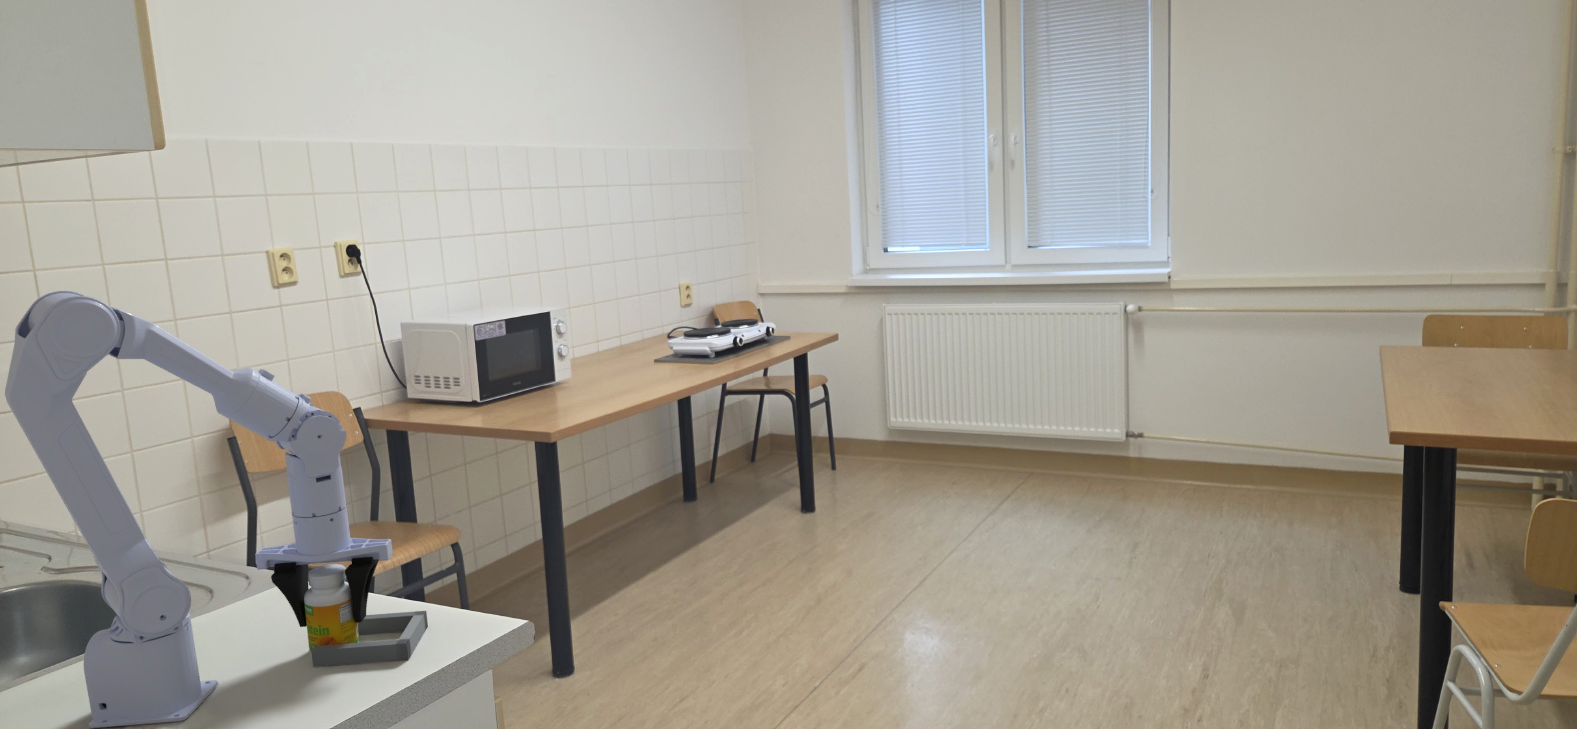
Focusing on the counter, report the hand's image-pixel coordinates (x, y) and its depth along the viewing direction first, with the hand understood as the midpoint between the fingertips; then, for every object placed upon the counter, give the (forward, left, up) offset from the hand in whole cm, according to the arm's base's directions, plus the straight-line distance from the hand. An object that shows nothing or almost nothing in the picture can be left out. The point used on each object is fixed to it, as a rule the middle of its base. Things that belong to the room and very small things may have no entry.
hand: (333, 621), depth 120 cm
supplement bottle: (0, 0, -4) cm, 4 cm away
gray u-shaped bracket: (+5, 0, -3) cm, 6 cm away
